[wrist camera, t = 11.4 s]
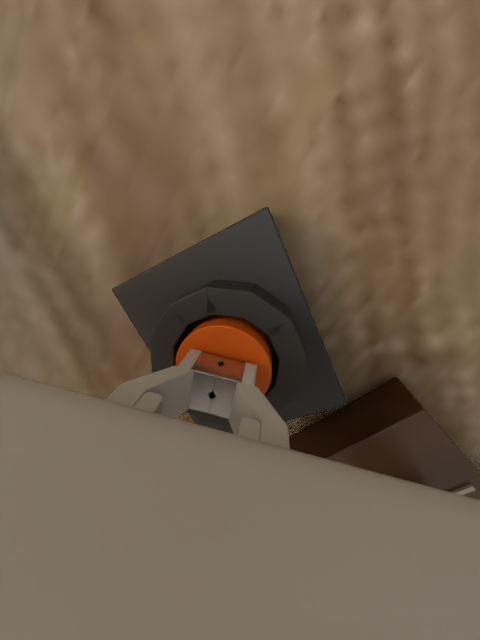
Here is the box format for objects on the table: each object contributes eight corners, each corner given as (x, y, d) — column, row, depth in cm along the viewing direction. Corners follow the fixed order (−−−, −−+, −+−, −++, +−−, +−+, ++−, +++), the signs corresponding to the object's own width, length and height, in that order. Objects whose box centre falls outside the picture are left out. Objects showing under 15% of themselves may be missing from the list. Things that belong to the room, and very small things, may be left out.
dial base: (494, 490, 17) (541, 545, 14) (367, 534, 20) (383, 586, 17) (396, 376, 15) (426, 411, 12) (274, 446, 18) (274, 487, 15)
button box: (336, 377, 15) (358, 430, 11) (216, 412, 18) (198, 467, 14) (269, 211, 13) (266, 200, 8) (138, 280, 15) (85, 298, 11)
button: (285, 371, 12) (287, 396, 11) (213, 394, 14) (203, 421, 12) (250, 297, 11) (245, 309, 9) (175, 329, 12) (157, 346, 11)
